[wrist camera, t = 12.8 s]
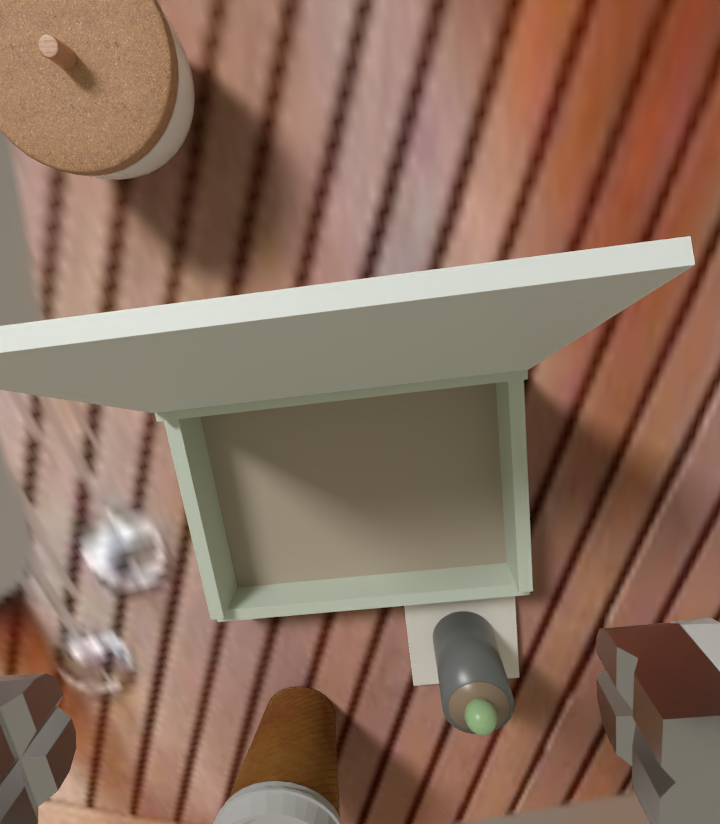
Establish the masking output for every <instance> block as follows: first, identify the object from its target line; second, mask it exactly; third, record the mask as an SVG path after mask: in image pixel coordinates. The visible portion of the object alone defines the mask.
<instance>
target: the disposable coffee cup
mask: <svg viewBox="0 0 720 824" xmlns="http://www.w3.org/2000/svg"><path fill="white" fill-rule="evenodd" d="M335 729H336V726H335V712H334V708H333V706H332V704H331V702H330V701H329V700H328V699H327V698H326V697H325V696H324V695H323V694H321V693H320V692H318V691H316V690H314V689H311V688H307V687H290V688H286V689H283V690H281V691H279V692H278V693H276V694H275V695H274V696H273V697H272V698H271V699H270V701H269V703H268V705H267V707H266V710H265V712H264V714H263V717H262V720H261V722H260V724H259V727H258V729H257V732H256V734H255V736H254V739H253V742H252V744H251V746H250V748H249V751H248V753H247V756H246V758H245V761H244V763H243V765H242V768H241V770H240V772H239V775H238V777H237V780H236V782H235V785H234V788H233V790H232V792H231V795H230V797H229V799H228V801H227V802H226V803H225V805H224V806H223V807H222V808H221V809H220V811H219V813H218V815H217V817H216V819H215V820H214V823H213V824H342V823H341V819H340V813H339V801H338V800H339V793H338V791H339V789H338V777H337V776H338V770H337V769H338V768H337V756H336V755H337V750H336V748H337V747H336V730H335Z"/></svg>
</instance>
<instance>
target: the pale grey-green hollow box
mask: <svg viewBox="0 0 720 824" xmlns="http://www.w3.org/2000/svg"><path fill="white" fill-rule="evenodd" d="M694 265H695V261H694V255H693V249H692V243H691V237H690V236H688V237H680V238H672V239H665V240H657V241H649V242H642V243H634V244H626V245H619V246H611V247H603V248H596V249H588V250H580V251H573V252H565V253H557V254H550V255H542V256H534V257H527V258H519V259H511V260H504V261H496V262H488V263H481V264H473V265H465V266H458V267H450V268H442V269H435V270H427V271H419V272H412V273H404V274H396V275H389V276H381V277H373V278H366V279H358V280H350V281H343V282H335V283H327V284H320V285H312V286H304V287H297V288H289V289H281V290H274V291H266V292H258V293H251V294H243V295H235V296H228V297H220V298H212V299H205V300H197V301H189V302H182V303H174V304H166V305H159V306H151V307H143V308H136V309H128V310H120V311H113V312H105V313H97V314H90V315H82V316H74V317H67V318H59V319H51V320H44V321H36V322H28V323H21V324H13V325H5V326H0V390H7V391H13V392H20V393H26V394H33V395H39V396H46V397H52V398H59V399H65V400H72V401H78V402H85V403H91V404H98V405H104V406H111V407H117V408H124V409H130V410H137V411H143V412H150V413H155V416H156V420H157V422H159V421H164V424H165V428H166V432H167V436H168V440H169V445H170V449H171V453H172V457H173V461H174V466H175V470H176V474H177V478H178V483H179V487H180V491H181V495H182V499H183V504H184V508H185V512H186V516H187V521H188V525H189V529H190V533H191V537H192V542H193V546H194V550H195V554H196V558H197V563H198V567H199V571H200V575H201V580H202V584H203V588H204V592H205V596H206V601H207V605H208V609H209V613H210V618H211V619H217V622H223V621H235V620H246V619H258V618H269V617H281V616H292V615H304V614H315V613H327V612H338V611H350V610H361V609H373V608H384V607H396V606H407V605H419V604H430V603H441V602H453V601H464V600H476V599H487V598H499V597H510V596H522V595H530V592H531V591H533V580H532V557H531V534H530V511H529V488H528V465H527V442H526V419H525V396H524V380H525V379H528V369H530V368H532V367H533V366H535V365H536V364H538V363H540V362H541V361H543V360H544V359H546V358H548V357H549V356H551V355H552V354H554V353H556V352H557V351H559V350H560V349H562V348H563V347H565V346H567V345H568V344H570V343H571V342H573V341H575V340H576V339H578V338H579V337H581V336H583V335H584V334H586V333H587V332H589V331H590V330H592V329H594V328H595V327H597V326H598V325H600V324H602V323H603V322H605V321H606V320H608V319H610V318H611V317H613V316H614V315H616V314H618V313H619V312H621V311H622V310H624V309H625V308H627V307H629V306H630V305H632V304H633V303H635V302H637V301H638V300H640V299H641V298H643V297H645V296H646V295H648V294H649V293H651V292H652V291H654V290H656V289H657V288H659V287H660V286H662V285H664V284H665V283H667V282H668V281H670V280H672V279H673V278H675V277H676V276H678V275H680V274H681V273H683V272H684V271H686V270H687V269H689V268H691V267H692V266H694Z"/></svg>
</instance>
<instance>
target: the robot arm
mask: <svg viewBox="0 0 720 824" xmlns="http://www.w3.org/2000/svg"><path fill="white" fill-rule="evenodd" d="M596 653H597V655H598V656H599V658H600V660H601V662H602V664H603V665H604V667H605V669H604V670H603V671H602V673H601V674H600V675H599V676H598V678H597V699H598V704H599V708H600V713H601V718H602V722H603V724H604V727H605V730H606V733H607V735H608V738H609V740H610V742H611V744H612V746H613V748H614V751H615V753H616V755H618V756H619V757H620V758H622V759H623V760H624V761H626V762H627V763H628V764H630V765H631V766H632V788H633V790H634V792H635V794H636V796H637V798H638V800H639V802H640V804H641V806H642V808H643V809H644V812H645V814H646V816H647V818H648V820H649V822H650V824H720V623H719V622H718V621H716V620H714V619H712V618H701V619H691V620H682V621H673V622H672V623H660V624H648V625H637V626H626V627H614V628H603V629H599V631H598V635H597V649H596ZM62 696H63V692H62V690H61V687H60V685H59V682H58V680H57V677H56V676H52V675H49V674H27V675H9V676H0V824H38V807H39V806H40V805H41V804H42V803H43V802H45V801H46V800H47V799H48V798H49V797H51V796H52V795H53V794H54V793H56V792H57V791H58V790H59V788H60V786H61V785H62V783H63V781H64V779H65V778H66V776H67V774H68V773H69V771H70V768H71V764H72V761H73V757H74V754H75V750H76V731H75V728H74V725H73V721H72V718H71V717H70V716H68V715H67V714H66V713H65V712H64V711H62V710H61V709H60V708H59V707H58V705H59V703H60V701H61V698H62Z"/></svg>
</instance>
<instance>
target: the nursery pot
mask: <svg viewBox="0 0 720 824" xmlns="http://www.w3.org/2000/svg"><path fill="white" fill-rule="evenodd" d="M433 645H434V652H435V659H436V665H437V672H438V679H439V686H440V693H441V700H442V707H443V712H444V715H445V717H446V719H447V720H448V722H449V723H450V724H451V725H453V726H454V727H455V728H457V729H459V730H461V731H463V732H466V733H471V734H478V735H488V734H490V733H491V732H492V731H495V730H497V729H499V728H500V727H502V726H503V725H504V724H506V723H507V722H508V720H509V719H510V718H511V716H512V714H513V711H514V698H513V695H512V692H511V688H510V685H509V682H508V679H507V676H506V672H505V669H504V666H503V663H502V660H501V657H500V653H499V650H498V647H497V644H496V641H495V637H494V634H493V631H492V628H491V626H490V624H489V623H488V621H487V620H486V619H485V618H483V617H482V616H480V615H478V614H476V613H473V612H469V611H459V612H454V613H451V614H448V615H447V616H445V617H443V618H442V619H441V620H440V621H439V622H438V623H437V625H436V626H435V628H434V631H433Z"/></svg>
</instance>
